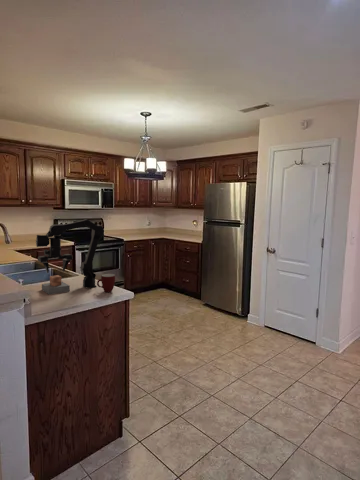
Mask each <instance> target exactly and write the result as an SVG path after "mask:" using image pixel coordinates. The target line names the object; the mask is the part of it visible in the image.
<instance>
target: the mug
mask: <svg viewBox="0 0 360 480" xmlns="http://www.w3.org/2000/svg"><path fill="white" fill-rule="evenodd" d="M100 282H101V285H100V284H99V283H100ZM115 283H116V274H114V273H104V274H103V273H102V274H101V276H100V278H99V279H98V280H97V282H96V286H97V287H98V288H102V290H103V291H104V293H111V292H113V290H114V287H115Z"/></svg>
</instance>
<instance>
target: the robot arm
mask: <svg viewBox="0 0 360 480" xmlns="http://www.w3.org/2000/svg"><path fill="white" fill-rule="evenodd" d="M85 227H87V228H88V229H90V230H91V239H90V244H89V246H88V251H87V254H86V258H85V260H84V261H82V262H81V264H80V267H79V269H80V270H79V271H80V273H81V274H83V280H82V287H84V288H85V289H91V288H97V285H96V277H97V274H96V273H95V272H94V271H93V268H94V264H93V261H94V258H95V255H96V250H97V247H98V245H99V241H100V239H102V236H103V234H104V232H105V231H104V230H105V229H104V227H103V226H101V225H99V224H96V223H94V222H92V221H90V220H89V219H83V220H77V221H74V222H69V223H63V224H58V223H57V224H51V225H50V227H49V228H48V229H49V230H48V231H47V233H46V234H44V235H43V234H37V235H36V240H35V243H36V244H35V246H36V248H43V247H46V248H47V247H48V246H49V250H48V249H44V250H43V255H39V256H38V257H37V261H38V262H39V263H41V264H43V267H44V268H45V271H46V274H49V272H50V270H49V268H50V267H49V262H48V261H52V260H62V272H65V270H66V269H67V266H68V264H69V263H70V262H71V260H73V259H74V258H73V254H71V253H63V255H62V253H61V252H62V247H61V245H62V244H61V239H65V237H64V236H63V235H62V234H63V233H65V232H68V231H71V230H75V229H80V228H85Z"/></svg>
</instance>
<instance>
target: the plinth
mask: <svg viewBox="0 0 360 480" xmlns="http://www.w3.org/2000/svg"><path fill="white" fill-rule="evenodd" d="M70 286H71V285H69V284H67V282H64V281H62V280H61V285H58V286H52V285H50V282H47V283H41V291H43V292H44V293H46V294H47V295H54V294H61V293H67V292H70V290H71V289H70Z"/></svg>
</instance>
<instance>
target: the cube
mask: <svg viewBox="0 0 360 480" xmlns="http://www.w3.org/2000/svg"><path fill="white" fill-rule="evenodd" d="M61 281H62V276H61V275H59V274H57V275H50V276H49V283H50V285H52V286H58V285H61Z"/></svg>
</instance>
